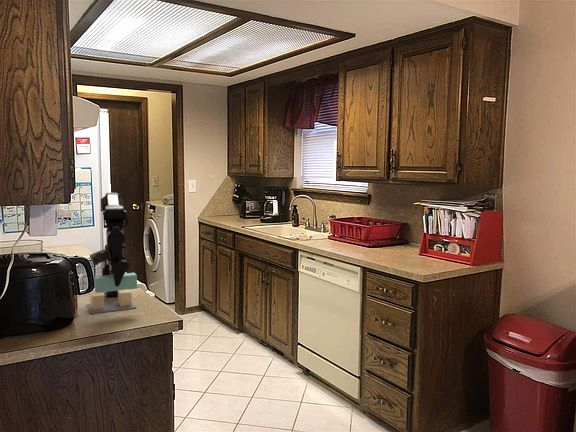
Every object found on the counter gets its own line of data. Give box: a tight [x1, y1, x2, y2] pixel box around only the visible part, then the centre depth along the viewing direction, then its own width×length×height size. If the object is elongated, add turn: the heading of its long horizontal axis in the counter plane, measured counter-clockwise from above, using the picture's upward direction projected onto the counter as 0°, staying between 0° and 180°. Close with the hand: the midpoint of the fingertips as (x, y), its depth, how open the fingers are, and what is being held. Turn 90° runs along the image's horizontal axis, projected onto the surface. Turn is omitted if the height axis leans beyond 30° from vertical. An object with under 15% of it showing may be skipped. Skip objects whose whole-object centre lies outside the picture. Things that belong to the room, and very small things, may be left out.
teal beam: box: [93, 272, 138, 293], centre depth 176 cm, size 4×14×5 cm, turn 120°
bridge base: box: [86, 289, 137, 315], centre depth 185 cm, size 12×16×6 cm
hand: (116, 284), depth 176 cm, fingers closed on teal beam, 4 cm apart
